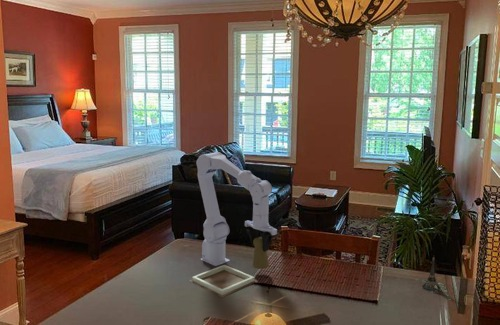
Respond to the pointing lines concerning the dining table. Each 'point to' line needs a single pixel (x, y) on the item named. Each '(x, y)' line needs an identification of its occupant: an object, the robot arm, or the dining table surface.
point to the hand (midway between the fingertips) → (260, 248)
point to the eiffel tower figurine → (434, 284)
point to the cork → (259, 254)
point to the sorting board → (223, 281)
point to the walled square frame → (223, 291)
